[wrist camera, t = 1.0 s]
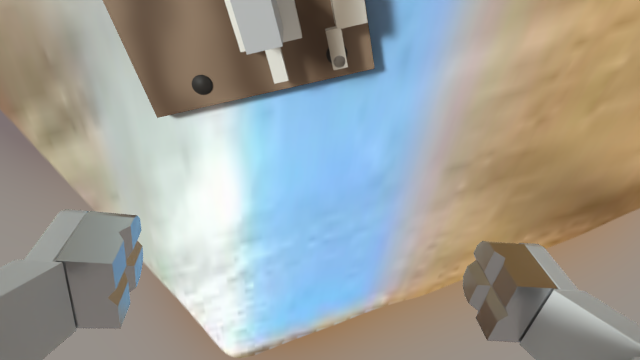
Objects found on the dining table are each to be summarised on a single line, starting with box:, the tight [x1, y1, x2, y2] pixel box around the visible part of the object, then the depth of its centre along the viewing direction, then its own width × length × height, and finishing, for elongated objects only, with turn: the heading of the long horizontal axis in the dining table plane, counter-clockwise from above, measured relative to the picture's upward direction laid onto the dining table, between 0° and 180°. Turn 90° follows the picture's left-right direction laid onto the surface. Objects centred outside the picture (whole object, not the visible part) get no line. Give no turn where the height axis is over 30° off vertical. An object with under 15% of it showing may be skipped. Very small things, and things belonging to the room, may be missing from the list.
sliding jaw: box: [224, 0, 302, 84], centre depth 31 cm, size 5×9×7 cm, turn 12°
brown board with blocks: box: [103, 0, 374, 118], centre depth 34 cm, size 20×12×4 cm, turn 102°
